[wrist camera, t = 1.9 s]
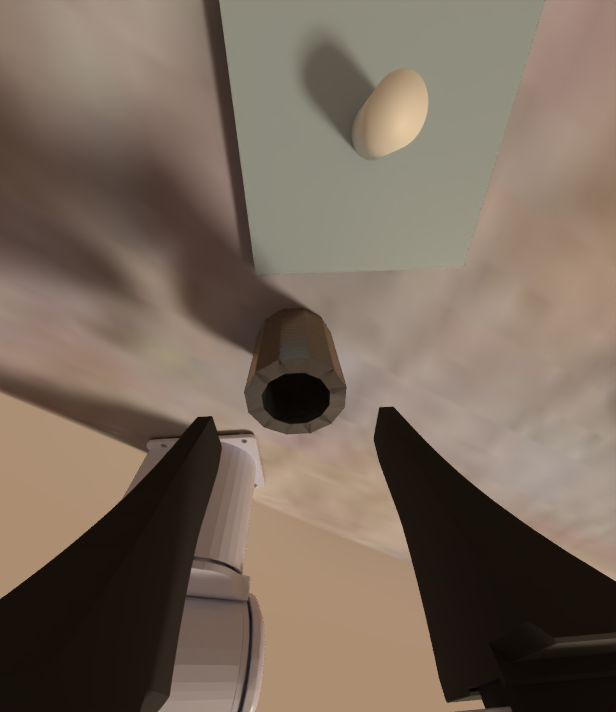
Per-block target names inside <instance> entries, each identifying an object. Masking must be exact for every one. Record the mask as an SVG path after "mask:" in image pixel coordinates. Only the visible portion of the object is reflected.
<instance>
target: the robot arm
mask: <svg viewBox="0 0 616 712" xmlns="http://www.w3.org/2000/svg"><path fill="white" fill-rule="evenodd" d="M244 439H245V440H244ZM374 443H375V447H376V451H377V455H378V459H379V463H380V465H381V468H382V471H383V474H384V476H385V479H386V482H387V485H388V487H389V490H390V493H391V495H392V498H393V501H394V503H395V506H396V509H397V512H398V514H399V517H400V520H401V523H402V526H403V530H404V533H405V537H406V541H407V544H408V548H409V552H410V555H411V559H412V563H413V567H414V570H415V575H416V578H417V582H418V586H419V591H420V595H421V599H422V603H423V607H424V611H425V615H426V620H427V624H428V629H429V633H430V638H431V642H432V647H433V651H434V656H435V661H436V666H437V670H438V675H439V679H440V683H441V686H442V689H443V693H444V696H445V699H446V701H447V702H448V703H449V702H459V701H470V700H480V699H482V701H483V703H484V706H485V709H478V710H468V711H457V712H616V581H614V580H613V579H611V578H609V577H608V576H606V575H604V574H603V573H601V572H599V571H598V570H596V569H595V568H593V567H591V566H590V565H588V564H586V563H585V562H583V561H581V560H580V559H578V558H577V557H575V556H573V555H572V554H570V553H568V552H567V551H565V550H564V549H562V548H561V547H559V546H558V545H556V544H554V543H553V542H551V541H550V540H548V539H547V538H545V537H544V536H542V535H541V534H539V533H538V532H536V531H535V530H533V529H532V528H531V527H529V526H528V525H526V524H525V523H523V522H522V521H521V520H519V519H518V518H516V517H515V516H514V515H512V514H511V513H510V512H508V511H507V510H505V509H504V508H503V507H501V506H500V505H499V504H497V503H496V502H494V501H493V500H492V499H491V498H489V497H488V496H487V495H485V494H484V493H483V492H482V491H480V490H479V489H478V488H477V487H476V486H474V485H473V484H472V483H471V482H469V481H468V480H467V479H466V478H465V477H463V476H462V475H461V474H460V473H459V472H458V471H457V470H456V469H454V468H453V467H452V466H451V465H450V464H449V463H448V462H447V461H446V460H445V459H443V458H442V457H441V456H440V455H439V454H438V453H437V452H436V451H435V450H434V449H433V448H432V447H431V446H430V445H429V444H428V443H427V442H426V441H425V440H424V439H423V438H422V437H421V436H420V435H419V434H418V433H417V432H416V431H415V429H414V428H413V427H412V426H411V425H410V424H409V423H408V422H407V421H406V420H405V419H404V418H403V416H402V415H401V414H400V413H399V412H398V411H397V410H396V409H395V408H394V407H379V412H378V418H377V423H376V428H375V434H374ZM146 446H147V448H148V450H149V452H148V454H147V456H146V458H145V460H144V461H143V463H142V465H141V467H140V468H139V470H138V472H137V474H136V475H135V477H134V479H133V481H132V483H131V484H130V486H129V488H128V490H127V491H126V493H125V495H124V497H123V499H122V500H121V501H120V502H119V503H118V504H117V505H116V506H115V507H114V508H113V509H112V510H111V511H110V512H108V513H107V514H106V515H105V516H104V517H103V518H102V519H101V520H99V521H98V522H97V523H96V524H95V525H94V526H92V527H91V528H90V529H89V530H88V531H87V532H85V533H84V534H83V535H82V536H81V537H79V539H77V540H76V541H75V542H74V543H72V544H71V545H70V546H69V547H68V548H66V549H65V550H64V551H63V552H61V553H60V554H59V555H58V556H56V557H55V558H54V559H53V560H51V561H50V562H49V563H48V564H46V565H45V566H44V567H42V568H41V569H40V570H38V571H37V572H36V573H35V574H33V575H32V576H31V577H29V578H28V579H27V580H25V581H24V582H23V583H21V584H20V585H19V586H18V587H16V588H15V589H13V590H12V591H11V592H9V593H8V594H7V595H5V596H4V597H2V598H1V599H0V712H255V711H256V707H257V703H258V699H259V694H260V689H261V682H262V675H263V667H264V653H265V633H264V622H263V617H262V613H261V610H260V607H259V604H258V601H257V599H256V597H255V596H254V595H253V594H252V593H249V587H250V576H245V575H243V567H244V558H245V551H246V544H247V537H248V529H249V521H250V514H251V506H252V499H253V491H254V488H261V487H263V486H264V484H265V480H264V475H263V470H262V465H261V460H260V455H259V450H258V446H257V441H256V437H255V436H254V435H253V434H241V435H223V436H218V433H217V430H216V427H215V423H214V420H213V417H212V416H208V417H197V418H196V419H195V421H194V422H193V423H192V424H191V425H190V426H189V428H188V429H187V430H186V431H185V432H184V434H183V435H182V436H181V437H180V438H171V439H154V440H149V441H148V443H147V445H146Z"/></svg>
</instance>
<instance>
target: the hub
mask: <svg viewBox="0 0 616 712" xmlns="http://www.w3.org/2000/svg"><path fill="white" fill-rule="evenodd" d="M346 388H347V387H346V384H345V380H344V377H343V373H342V370H341V367H340V363H339V360H338V356H337V353H336V349H335V346H334V342H333V339H332V336H331V332H330V331H329V329H328V328H327V326H326V324H325V323H324V321H323V320H322V318H321V317H320V316H318V315H316V314H314V313H312V312H310V311H308V310H306V309H304V308H303V309H283V310H281V311H279V312H278V313H276V314H274V315H273V316H271V317H270V318H268V319H266V321H265V323H264V325H263V327H262V329H261V331H260V333H259V335H258V339H257V343H256V347H255V351H254V355H253V359H252V363H251V367H250V371H249V375H248V379H247V383H246V387H245V391H244V393H245V398H246V403H247V408H248V412H249V413H250V414H251V415H252V416H253V417H254V418H255V419H256V420H257V421H258V422H259V423H260V424H261V425H262V426H263V427H264V428H268V429H271V430H274V431H278V432H281V433H284V434H300V433H311V432H314V431H316V430H318V429H320V428H322V427H325V426H327V425H329V424H331V423H332V422H333V421H334V420H335V418H336V417H337V416H338V415H339V414H340V412H341V411H342V410H343V409H344V408H345V398H346Z"/></svg>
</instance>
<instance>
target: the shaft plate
mask: <svg viewBox="0 0 616 712" xmlns="http://www.w3.org/2000/svg"><path fill="white" fill-rule="evenodd" d="M219 2H220V10H221V17H222V25H223V33H224V40H225V48H226V55H227V63H228V70H229V78H230V86H231V93H232V101H233V108H234V116H235V123H236V131H237V139H238V146H239V154H240V161H241V169H242V176H243V184H244V192H245V199H246V207H247V214H248V222H249V230H250V237H251V245H252V252H253V260H254V267H255V275H270V274H299V273H327V272H356V271H385V270H414V269H442V268H463V267H464V264H465V260H466V257H467V254H468V251H469V247H470V244H471V241H472V238H473V234H474V231H475V228H476V225H477V221H478V218H479V215H480V211H481V208H482V205H483V202H484V198H485V195H486V192H487V189H488V185H489V182H490V179H491V176H492V172H493V169H494V166H495V163H496V159H497V156H498V153H499V150H500V146H501V143H502V140H503V137H504V133H505V130H506V127H507V124H508V120H509V117H510V114H511V110H512V107H513V104H514V101H515V97H516V94H517V91H518V88H519V84H520V81H521V78H522V75H523V71H524V68H525V65H526V62H527V58H528V55H529V52H530V49H531V45H532V42H533V39H534V36H535V32H536V29H537V26H538V22H539V19H540V16H541V13H542V9H543V6H544V3H545V0H219Z"/></svg>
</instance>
